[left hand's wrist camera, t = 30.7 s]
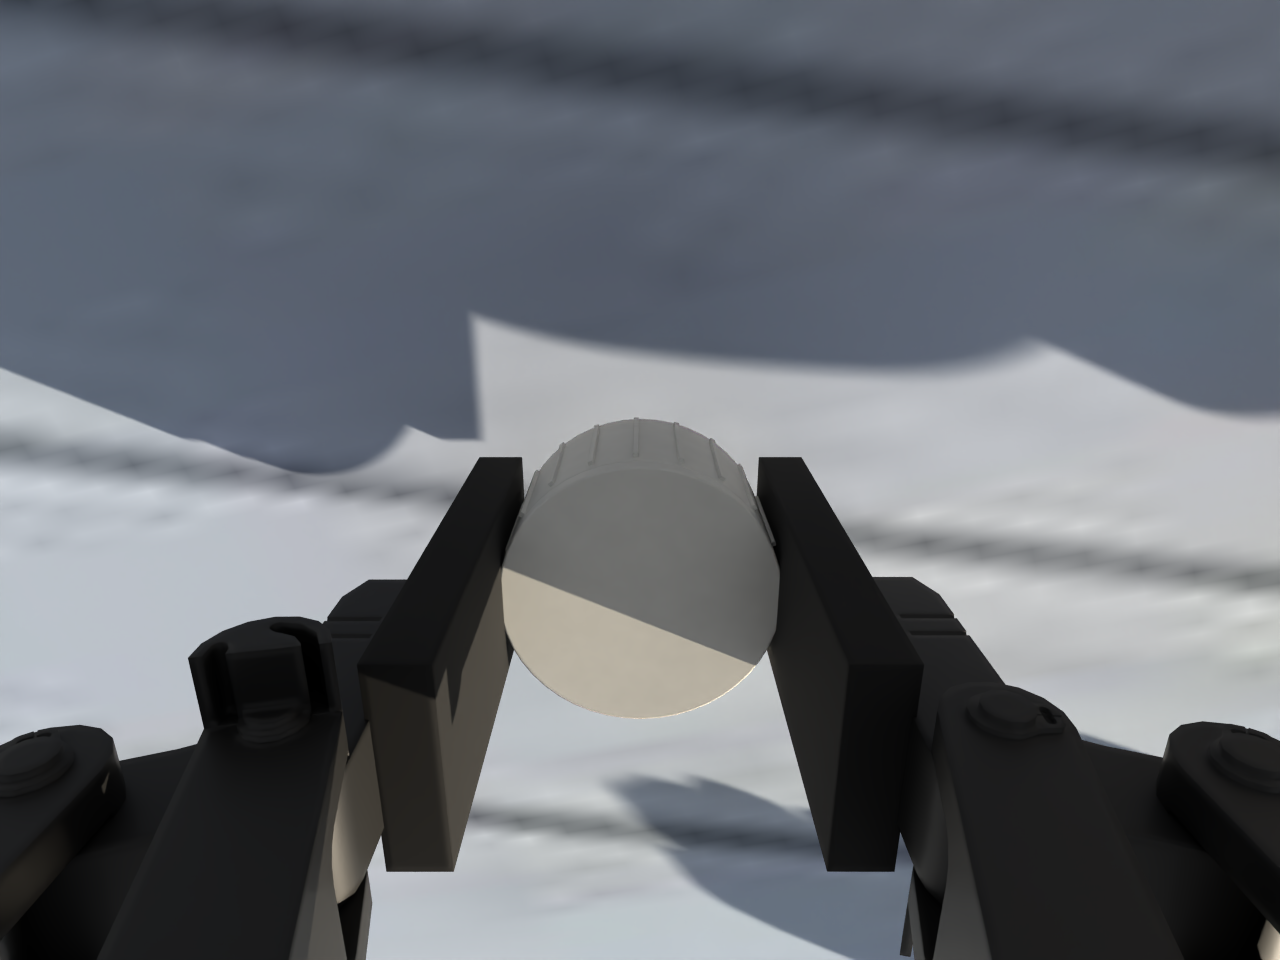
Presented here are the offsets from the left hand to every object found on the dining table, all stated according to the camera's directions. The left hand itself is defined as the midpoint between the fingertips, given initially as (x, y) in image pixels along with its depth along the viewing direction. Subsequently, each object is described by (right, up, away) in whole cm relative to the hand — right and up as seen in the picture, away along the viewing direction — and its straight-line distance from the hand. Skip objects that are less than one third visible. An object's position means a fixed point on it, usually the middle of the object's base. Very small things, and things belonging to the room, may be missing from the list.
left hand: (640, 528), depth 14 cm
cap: (0, -1, -2) cm, 2 cm away
